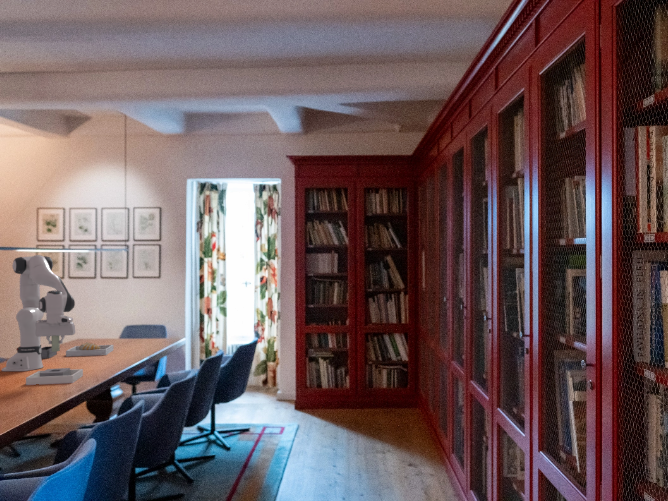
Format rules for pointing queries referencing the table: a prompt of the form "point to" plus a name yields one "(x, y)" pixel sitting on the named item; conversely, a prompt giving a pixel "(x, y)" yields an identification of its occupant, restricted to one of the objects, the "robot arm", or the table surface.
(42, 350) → the dark grey open bin
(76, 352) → the shell tray
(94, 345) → the nautilus
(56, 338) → the peg
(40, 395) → the table surface
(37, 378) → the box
